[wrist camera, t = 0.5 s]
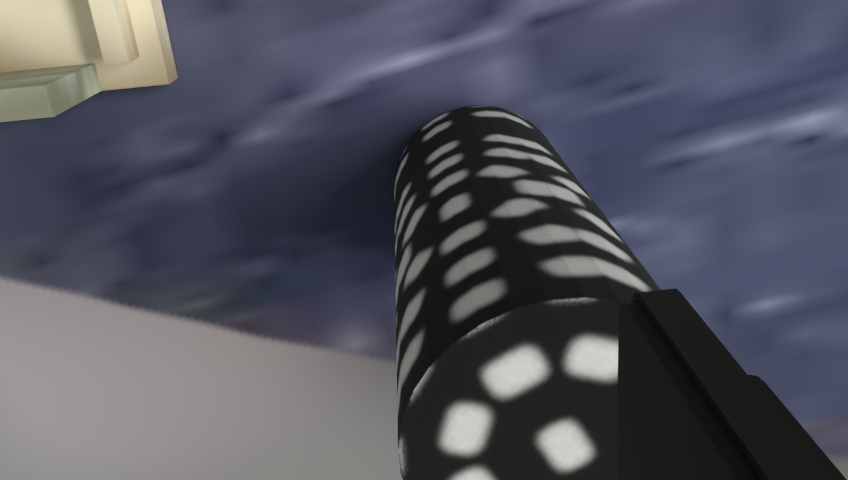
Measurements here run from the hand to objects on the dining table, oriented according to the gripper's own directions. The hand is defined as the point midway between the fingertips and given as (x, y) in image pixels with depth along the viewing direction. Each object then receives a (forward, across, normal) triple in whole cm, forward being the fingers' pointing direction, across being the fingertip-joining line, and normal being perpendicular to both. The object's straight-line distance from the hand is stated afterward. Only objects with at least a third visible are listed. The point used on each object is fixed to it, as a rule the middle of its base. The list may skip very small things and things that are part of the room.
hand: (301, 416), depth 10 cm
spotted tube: (+26, -5, +6) cm, 27 cm away
